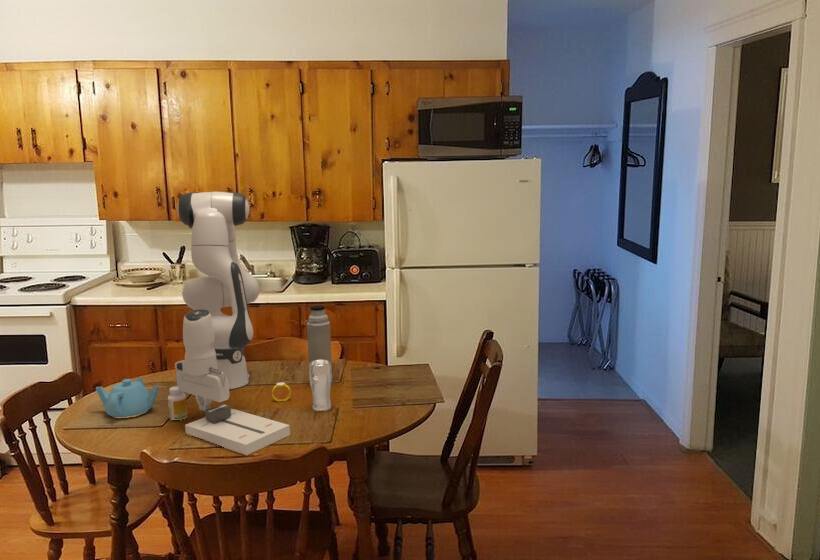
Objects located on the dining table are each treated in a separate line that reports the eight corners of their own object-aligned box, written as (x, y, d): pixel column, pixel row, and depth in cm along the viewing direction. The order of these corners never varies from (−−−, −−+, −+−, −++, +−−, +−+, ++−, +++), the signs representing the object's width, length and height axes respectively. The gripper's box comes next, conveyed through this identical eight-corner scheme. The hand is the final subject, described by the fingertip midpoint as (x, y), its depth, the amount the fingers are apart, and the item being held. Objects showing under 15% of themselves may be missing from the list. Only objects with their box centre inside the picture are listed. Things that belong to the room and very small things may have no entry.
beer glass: (329, 412, 207) (326, 366, 204) (307, 411, 208) (305, 365, 206) (335, 404, 213) (333, 359, 211) (315, 403, 215) (313, 358, 212)
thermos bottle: (319, 379, 239) (315, 303, 234) (337, 382, 235) (333, 305, 230) (305, 385, 232) (301, 307, 227) (323, 389, 228) (319, 309, 223)
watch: (273, 403, 216) (270, 386, 215) (273, 400, 219) (270, 383, 218) (291, 400, 218) (289, 383, 216) (291, 398, 220) (289, 380, 219)
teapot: (96, 412, 212) (92, 380, 210) (143, 400, 222) (140, 369, 220) (113, 425, 201) (109, 391, 199) (162, 412, 211) (159, 379, 209)
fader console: (185, 434, 192) (185, 424, 191) (229, 417, 205) (229, 407, 204) (246, 455, 177) (245, 444, 177) (290, 435, 190) (289, 424, 189)
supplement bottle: (191, 415, 207) (189, 385, 205) (180, 422, 202) (177, 391, 200) (177, 414, 208) (174, 384, 207) (165, 420, 203) (163, 390, 202)
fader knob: (205, 420, 194) (205, 409, 193) (222, 413, 198) (221, 403, 198) (214, 422, 191) (214, 412, 191) (231, 416, 196) (230, 406, 196)
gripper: (233, 368, 192) (236, 413, 195) (189, 357, 204) (192, 400, 206) (215, 373, 187) (218, 420, 190) (171, 362, 199) (175, 406, 201)
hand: (204, 410), depth 198 cm, fingers closed
